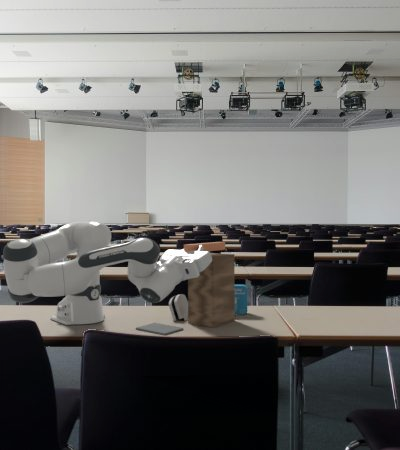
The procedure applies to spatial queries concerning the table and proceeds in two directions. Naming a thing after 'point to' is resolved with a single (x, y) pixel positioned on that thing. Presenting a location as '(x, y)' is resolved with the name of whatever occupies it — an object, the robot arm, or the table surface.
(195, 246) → the pin
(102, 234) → the robot arm
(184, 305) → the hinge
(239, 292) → the data package
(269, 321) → the table surface
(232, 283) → the brown block
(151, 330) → the mat
